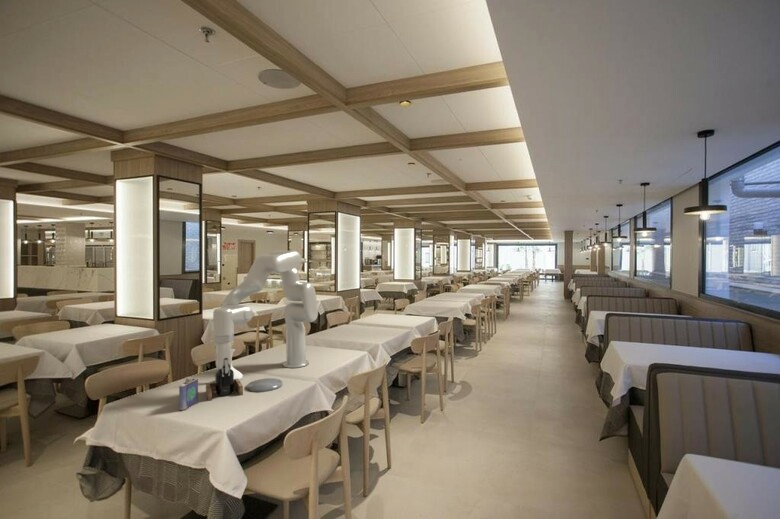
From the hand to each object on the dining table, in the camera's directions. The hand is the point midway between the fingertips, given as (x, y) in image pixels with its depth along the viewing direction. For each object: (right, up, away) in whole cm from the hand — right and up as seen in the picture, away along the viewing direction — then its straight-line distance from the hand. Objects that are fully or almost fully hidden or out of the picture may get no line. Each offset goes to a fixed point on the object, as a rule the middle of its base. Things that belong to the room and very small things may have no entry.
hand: (224, 382), depth 155 cm
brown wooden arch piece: (0, -4, 0) cm, 4 cm away
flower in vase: (-5, -5, +15) cm, 17 cm away
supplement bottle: (0, -5, 0) cm, 5 cm away
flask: (-8, -5, -13) cm, 16 cm away
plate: (+13, -4, +9) cm, 16 cm away
